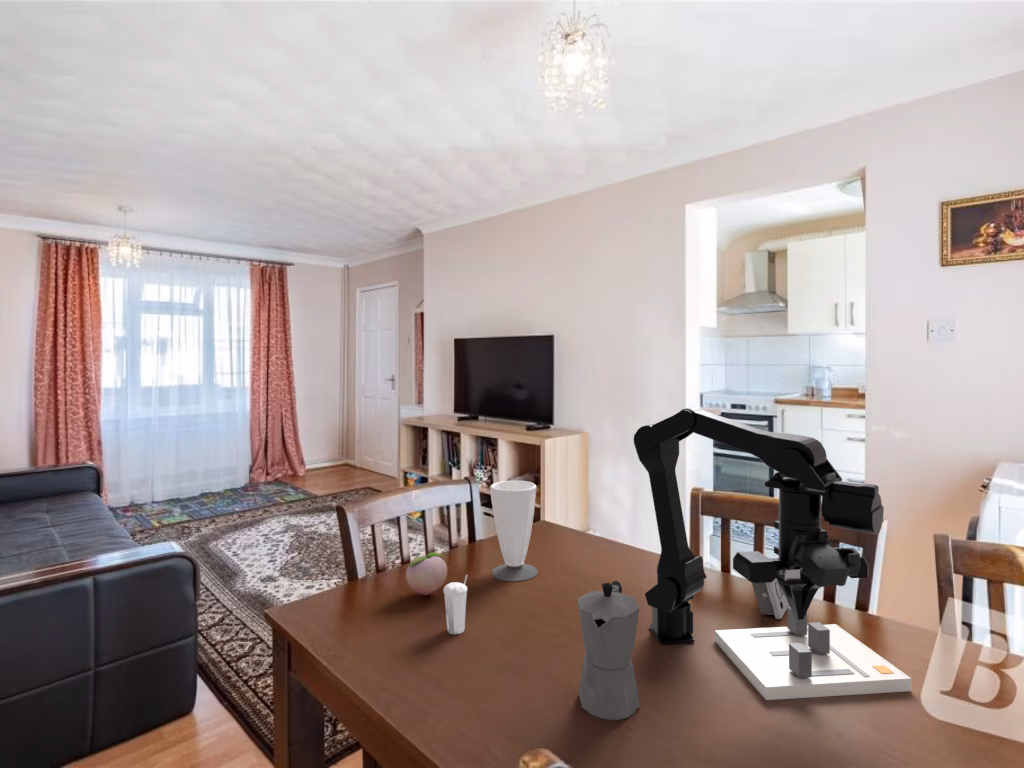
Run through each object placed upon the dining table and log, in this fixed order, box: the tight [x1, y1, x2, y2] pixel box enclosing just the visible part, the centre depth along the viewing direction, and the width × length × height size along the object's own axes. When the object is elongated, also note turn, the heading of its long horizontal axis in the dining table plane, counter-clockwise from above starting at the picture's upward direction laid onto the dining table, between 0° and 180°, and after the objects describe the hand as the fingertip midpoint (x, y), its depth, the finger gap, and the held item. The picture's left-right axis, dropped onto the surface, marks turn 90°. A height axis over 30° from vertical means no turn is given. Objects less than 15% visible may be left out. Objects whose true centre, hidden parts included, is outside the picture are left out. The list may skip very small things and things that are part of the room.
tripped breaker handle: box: [789, 643, 812, 678], centre depth 82 cm, size 2×3×4 cm
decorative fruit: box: [405, 550, 448, 596], centre depth 117 cm, size 9×8×10 cm
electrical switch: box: [751, 579, 790, 620], centre depth 108 cm, size 9×5×9 cm, turn 141°
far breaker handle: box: [786, 606, 808, 636], centre depth 94 cm, size 2×3×4 cm
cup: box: [489, 479, 539, 583], centre depth 129 cm, size 12×12×22 cm
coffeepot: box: [576, 580, 641, 721], centre depth 80 cm, size 15×9×18 cm, turn 159°
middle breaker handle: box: [807, 621, 830, 654], centre depth 88 cm, size 2×3×4 cm
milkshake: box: [443, 574, 469, 636], centre depth 102 cm, size 4×5×10 cm
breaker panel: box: [714, 623, 912, 701], centre depth 88 cm, size 23×17×2 cm
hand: (798, 618), depth 82 cm, fingers closed
